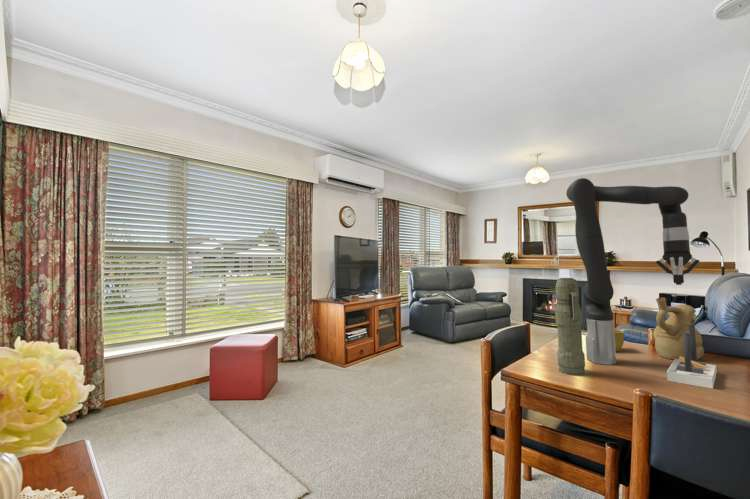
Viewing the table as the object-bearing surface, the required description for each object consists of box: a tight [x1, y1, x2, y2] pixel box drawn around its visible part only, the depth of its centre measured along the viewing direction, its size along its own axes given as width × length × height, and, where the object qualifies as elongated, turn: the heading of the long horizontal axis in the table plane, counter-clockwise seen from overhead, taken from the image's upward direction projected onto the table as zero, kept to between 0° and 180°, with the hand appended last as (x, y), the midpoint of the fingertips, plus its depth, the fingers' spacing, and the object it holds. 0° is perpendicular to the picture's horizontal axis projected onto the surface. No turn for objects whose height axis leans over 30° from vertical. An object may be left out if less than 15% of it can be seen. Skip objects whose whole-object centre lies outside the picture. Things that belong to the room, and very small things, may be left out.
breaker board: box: [666, 359, 718, 390], centre depth 117 cm, size 19×11×4 cm, turn 132°
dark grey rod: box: [689, 324, 698, 361], centre depth 123 cm, size 2×2×13 cm
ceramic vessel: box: [652, 297, 705, 361], centre depth 140 cm, size 17×20×25 cm
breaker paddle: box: [678, 356, 707, 371], centre depth 117 cm, size 2×7×2 cm, turn 42°
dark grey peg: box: [683, 332, 692, 372], centre depth 111 cm, size 2×2×13 cm
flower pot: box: [614, 328, 625, 352], centre depth 154 cm, size 9×9×9 cm
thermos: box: [554, 277, 586, 376], centre depth 127 cm, size 9×12×35 cm
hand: (679, 284), depth 129 cm, fingers closed
